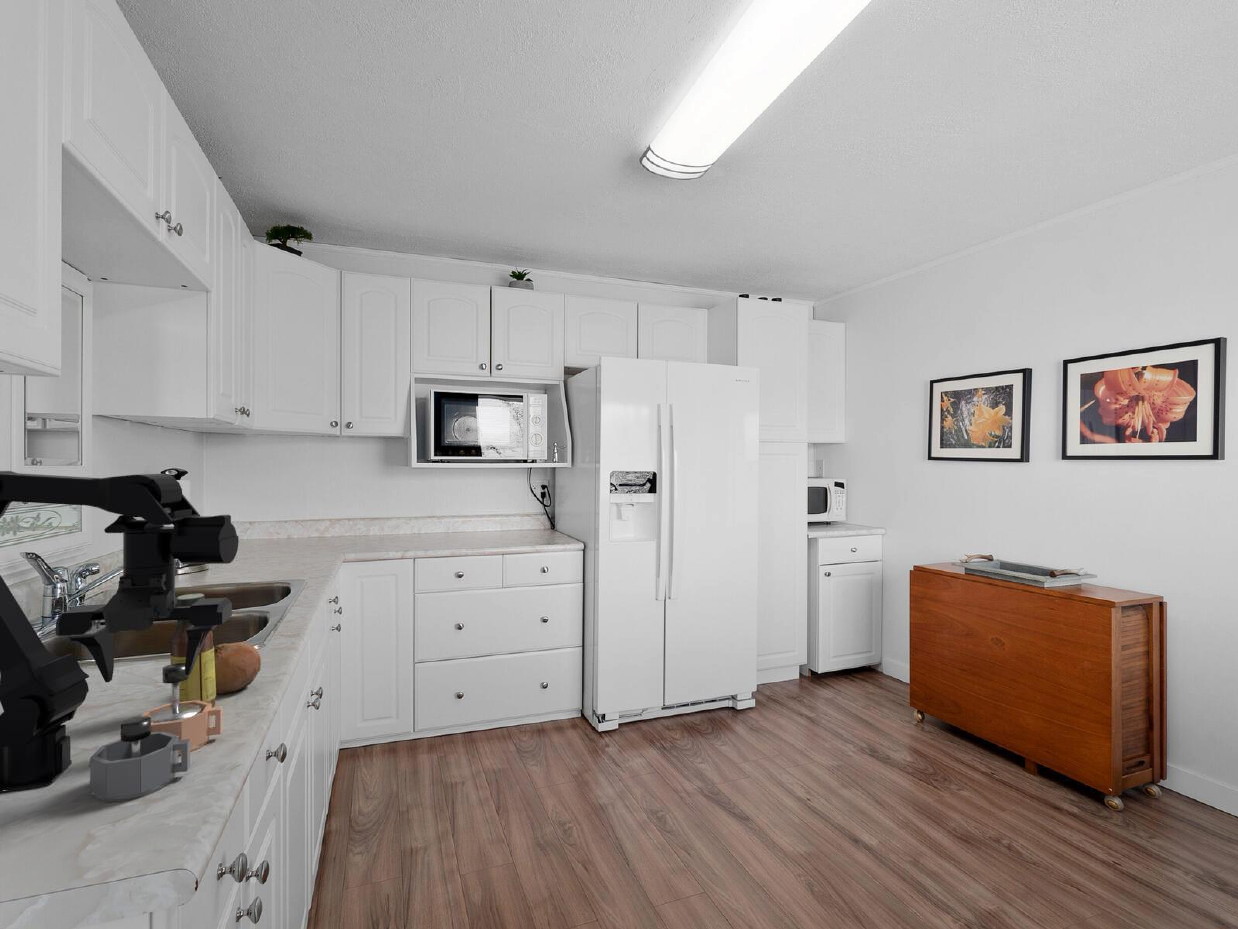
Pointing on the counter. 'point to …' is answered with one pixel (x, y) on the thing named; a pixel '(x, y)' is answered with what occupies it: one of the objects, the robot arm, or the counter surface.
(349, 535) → the counter surface
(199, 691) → the sauce bottle
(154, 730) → the bowl
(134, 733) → the coffee tamper
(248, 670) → the onion
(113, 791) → the grey octagonal cup
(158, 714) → the black-handled metal tamper
